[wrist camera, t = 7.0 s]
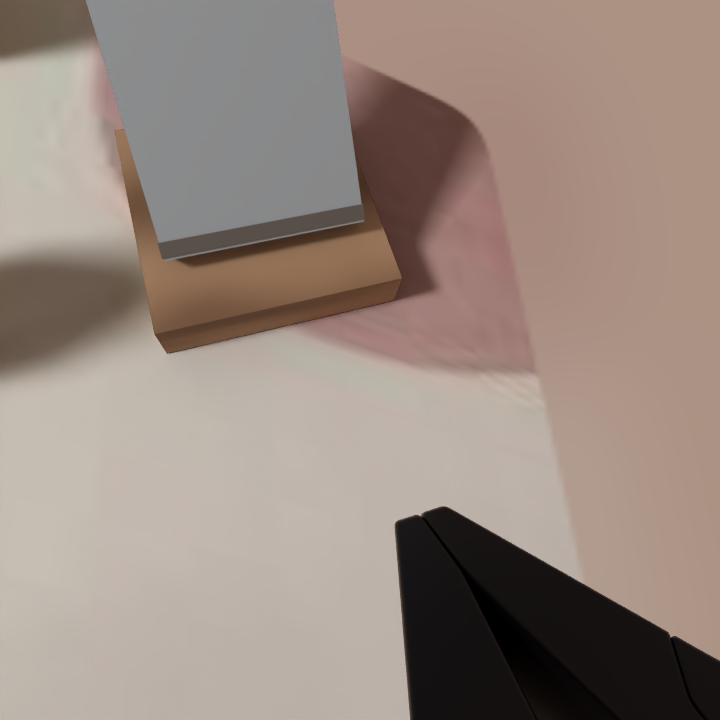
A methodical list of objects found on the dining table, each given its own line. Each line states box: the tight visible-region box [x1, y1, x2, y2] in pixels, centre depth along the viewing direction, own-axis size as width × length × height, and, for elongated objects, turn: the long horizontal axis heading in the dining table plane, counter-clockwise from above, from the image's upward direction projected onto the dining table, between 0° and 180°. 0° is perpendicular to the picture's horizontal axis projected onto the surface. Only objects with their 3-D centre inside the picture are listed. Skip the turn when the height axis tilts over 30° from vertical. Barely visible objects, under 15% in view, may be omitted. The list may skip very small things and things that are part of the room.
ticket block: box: [114, 129, 402, 353], centre depth 23 cm, size 10×10×2 cm
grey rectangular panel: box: [86, 0, 365, 261], centre depth 18 cm, size 1×8×14 cm
